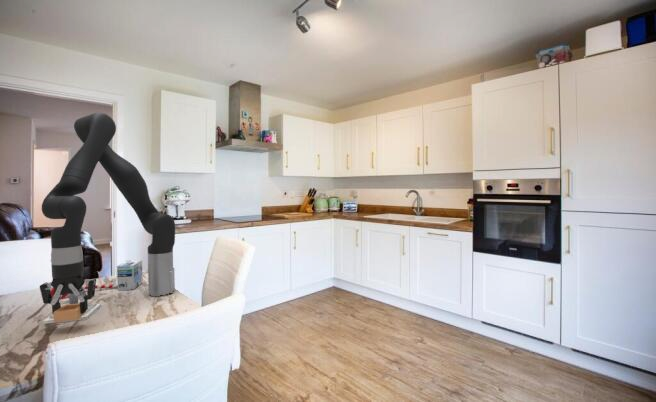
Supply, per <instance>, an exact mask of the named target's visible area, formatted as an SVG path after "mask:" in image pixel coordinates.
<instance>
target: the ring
mask: <svg viewBox="0 0 656 402" xmlns="http://www.w3.org/2000/svg"><path fill="white" fill-rule="evenodd" d="M86 312H87V311H86ZM86 312H85V313H86ZM85 313H84V314H85ZM53 315H54V322H57V323H61V322H60V321H67V322H70V321H69V320H77V321H79V320H78V319H79V318H80V317H81V316H82V315H83V314H81V313H80V302H78V304H69V303H68V304H62V306H61V307H60V308H59V309H58V310H56V311H55V312H53Z"/></svg>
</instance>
